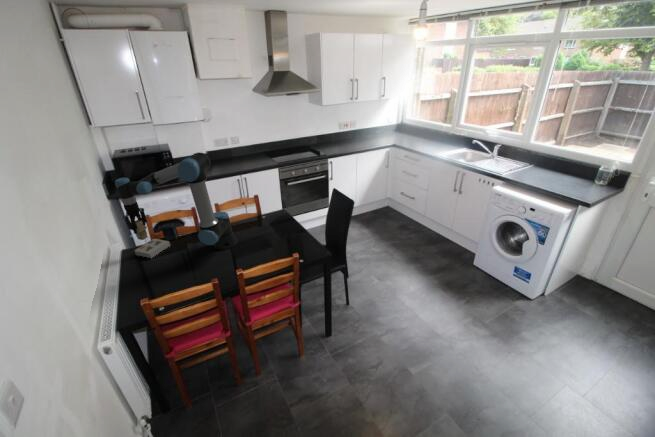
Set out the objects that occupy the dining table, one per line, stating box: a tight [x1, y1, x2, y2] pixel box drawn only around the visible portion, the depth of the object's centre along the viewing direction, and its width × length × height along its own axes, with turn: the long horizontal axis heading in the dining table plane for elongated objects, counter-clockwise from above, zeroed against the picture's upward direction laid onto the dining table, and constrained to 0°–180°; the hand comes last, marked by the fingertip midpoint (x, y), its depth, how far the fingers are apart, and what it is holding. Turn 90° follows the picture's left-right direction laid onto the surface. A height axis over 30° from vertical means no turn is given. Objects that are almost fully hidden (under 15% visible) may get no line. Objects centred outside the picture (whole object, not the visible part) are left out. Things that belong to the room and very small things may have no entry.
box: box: [160, 222, 180, 241], centre depth 227 cm, size 8×6×11 cm
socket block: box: [133, 238, 171, 260], centre depth 215 cm, size 14×16×4 cm
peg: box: [135, 219, 149, 241], centre depth 205 cm, size 4×4×12 cm
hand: (142, 235), depth 207 cm, fingers closed on peg, 4 cm apart
